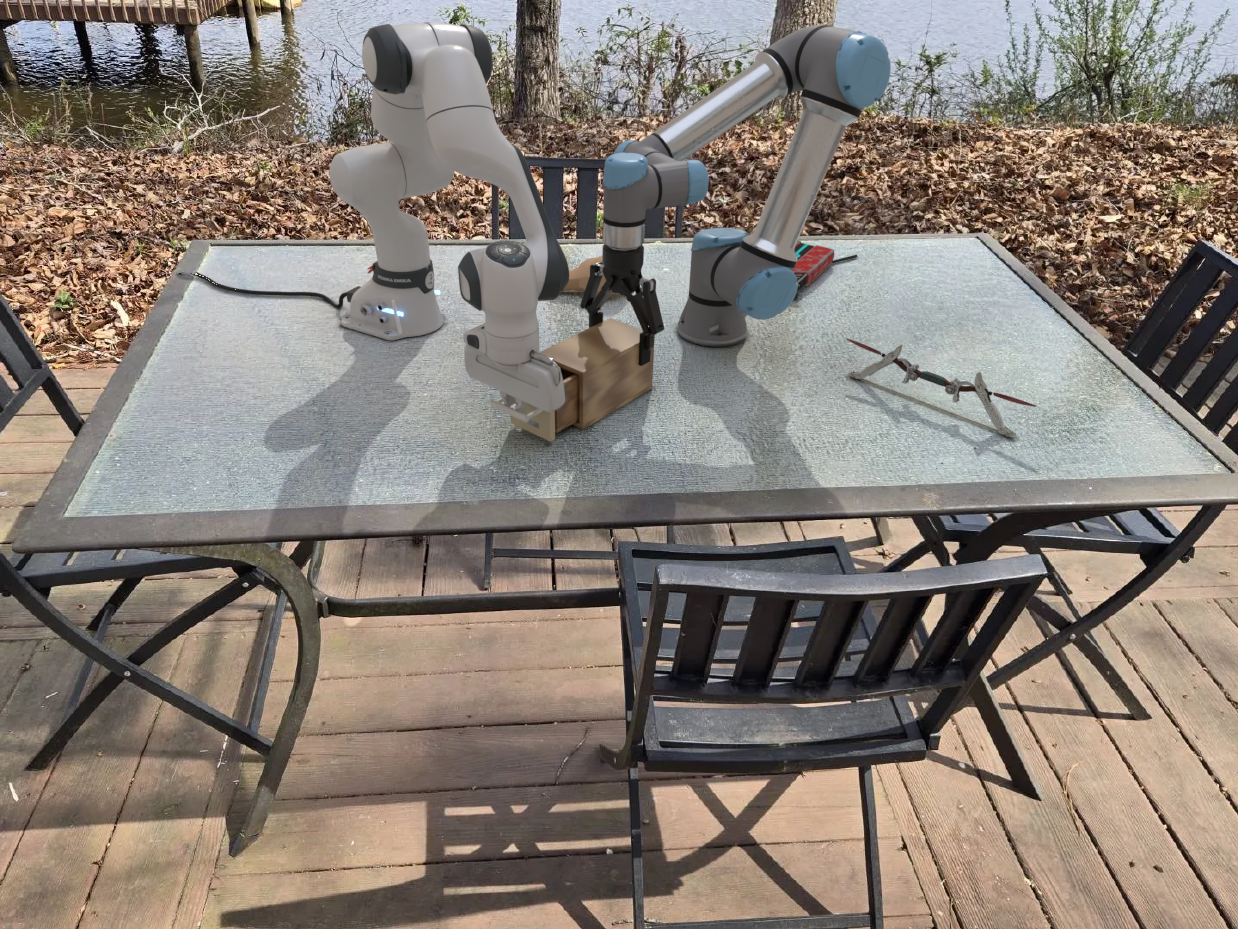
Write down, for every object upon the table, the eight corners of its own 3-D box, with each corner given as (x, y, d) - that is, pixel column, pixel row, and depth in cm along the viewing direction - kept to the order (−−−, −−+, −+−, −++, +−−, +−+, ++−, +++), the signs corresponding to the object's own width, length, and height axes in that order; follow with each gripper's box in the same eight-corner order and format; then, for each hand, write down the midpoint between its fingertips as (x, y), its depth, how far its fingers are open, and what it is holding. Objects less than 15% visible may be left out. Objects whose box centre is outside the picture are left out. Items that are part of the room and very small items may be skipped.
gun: (721, 268, 215) (795, 287, 208) (770, 231, 237) (839, 247, 230) (719, 285, 218) (792, 305, 210) (768, 247, 240) (836, 264, 232)
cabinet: (582, 430, 160) (583, 372, 153) (538, 409, 165) (536, 353, 159) (652, 388, 173) (654, 333, 167) (608, 371, 179) (609, 317, 173)
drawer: (528, 455, 151) (527, 404, 145) (488, 435, 156) (485, 385, 150) (620, 400, 167) (622, 353, 162) (581, 384, 172) (581, 338, 167)
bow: (1027, 440, 160) (1043, 392, 155) (1023, 443, 159) (1039, 395, 154) (842, 370, 182) (850, 325, 176) (837, 372, 181) (846, 328, 175)
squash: (632, 302, 209) (628, 269, 203) (549, 309, 210) (543, 277, 204) (632, 277, 217) (628, 245, 210) (552, 285, 218) (546, 253, 212)
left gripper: (572, 355, 141) (573, 428, 149) (483, 319, 151) (487, 389, 159) (546, 369, 137) (548, 443, 144) (455, 331, 147) (462, 402, 155)
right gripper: (688, 254, 154) (680, 365, 166) (587, 224, 166) (586, 330, 179) (663, 265, 149) (657, 379, 162) (560, 234, 161) (562, 342, 174)
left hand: (515, 415), depth 152 cm, fingers closed, pressing on drawer
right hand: (620, 353), depth 170 cm, fingers closed on cabinet, 11 cm apart
